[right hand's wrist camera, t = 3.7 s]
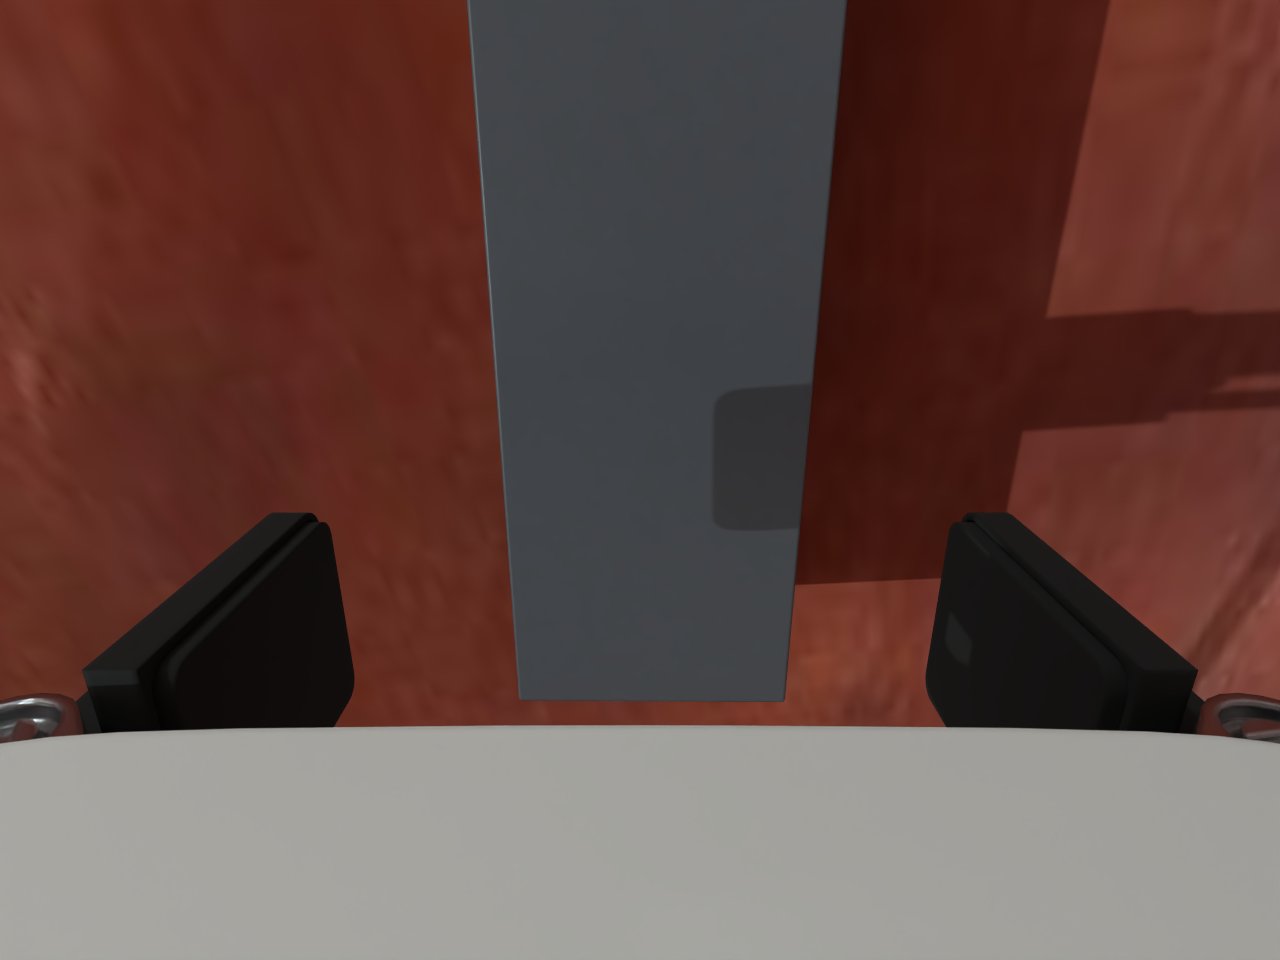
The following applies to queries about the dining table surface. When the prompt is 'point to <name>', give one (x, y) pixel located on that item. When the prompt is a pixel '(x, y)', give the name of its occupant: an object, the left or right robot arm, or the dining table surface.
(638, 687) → the bar
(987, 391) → the dining table surface
